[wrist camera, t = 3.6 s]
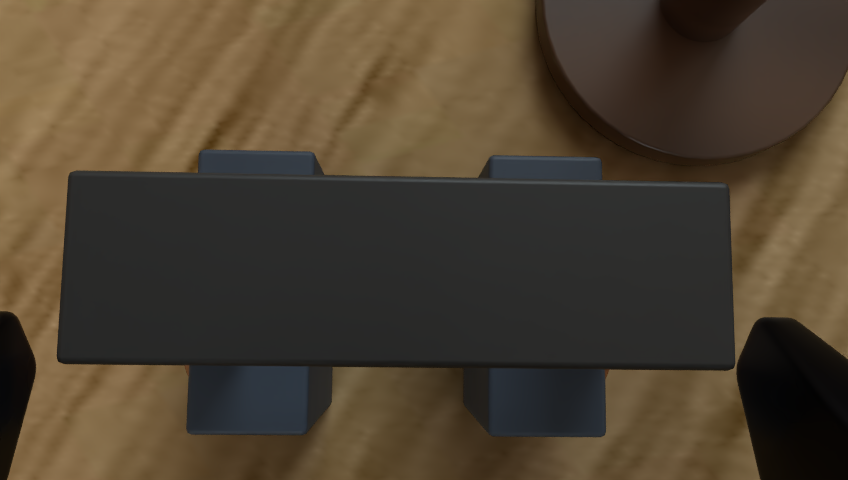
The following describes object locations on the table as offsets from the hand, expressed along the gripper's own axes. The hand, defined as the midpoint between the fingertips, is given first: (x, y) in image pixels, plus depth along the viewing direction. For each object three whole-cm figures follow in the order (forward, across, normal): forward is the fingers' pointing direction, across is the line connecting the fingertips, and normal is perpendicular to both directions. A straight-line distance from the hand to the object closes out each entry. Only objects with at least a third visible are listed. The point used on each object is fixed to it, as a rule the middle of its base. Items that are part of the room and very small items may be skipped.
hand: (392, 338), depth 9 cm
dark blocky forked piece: (+6, 0, +5) cm, 8 cm away
